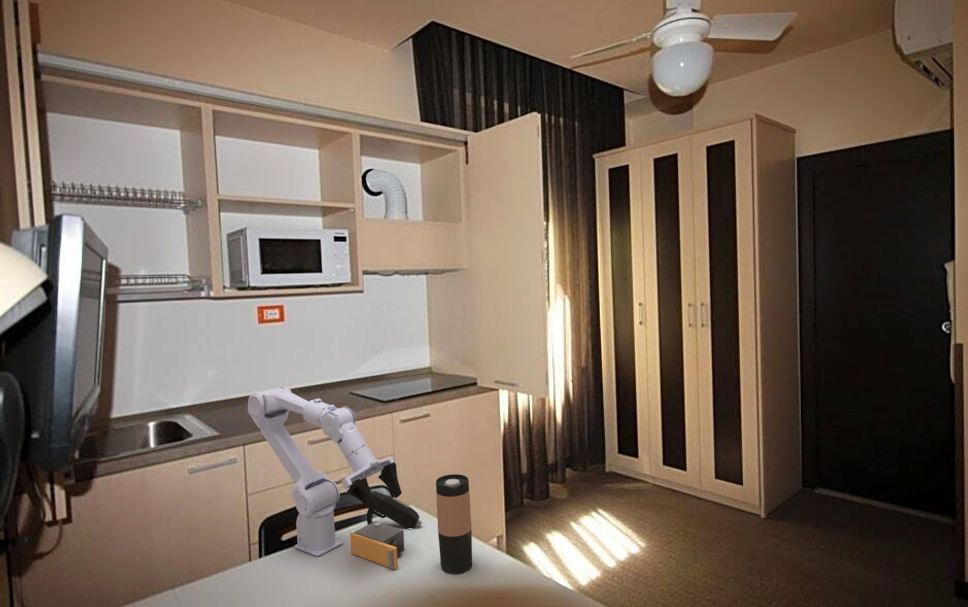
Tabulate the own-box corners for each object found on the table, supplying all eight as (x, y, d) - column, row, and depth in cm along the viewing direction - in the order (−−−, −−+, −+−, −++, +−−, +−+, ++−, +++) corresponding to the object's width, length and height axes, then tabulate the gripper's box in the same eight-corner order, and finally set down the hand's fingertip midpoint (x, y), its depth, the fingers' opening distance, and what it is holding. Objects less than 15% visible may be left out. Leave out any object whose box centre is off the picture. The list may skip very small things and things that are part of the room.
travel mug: (454, 554, 129) (449, 472, 128) (480, 563, 124) (475, 477, 124) (433, 569, 123) (428, 482, 122) (459, 578, 118) (454, 488, 118)
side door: (348, 554, 131) (347, 534, 131) (352, 551, 133) (351, 532, 132) (393, 570, 122) (392, 549, 122) (397, 568, 124) (396, 547, 123)
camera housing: (355, 552, 133) (353, 529, 132) (376, 540, 138) (375, 519, 138) (388, 564, 126) (387, 540, 126) (409, 551, 132) (408, 529, 131)
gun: (408, 550, 144) (423, 517, 143) (356, 520, 147) (370, 488, 146) (411, 545, 147) (426, 513, 146) (361, 516, 150) (375, 484, 149)
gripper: (341, 454, 120) (372, 507, 116) (387, 434, 132) (417, 482, 128) (327, 470, 124) (357, 522, 120) (373, 449, 136) (402, 496, 132)
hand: (387, 502), depth 124 cm, fingers open, 7 cm apart
